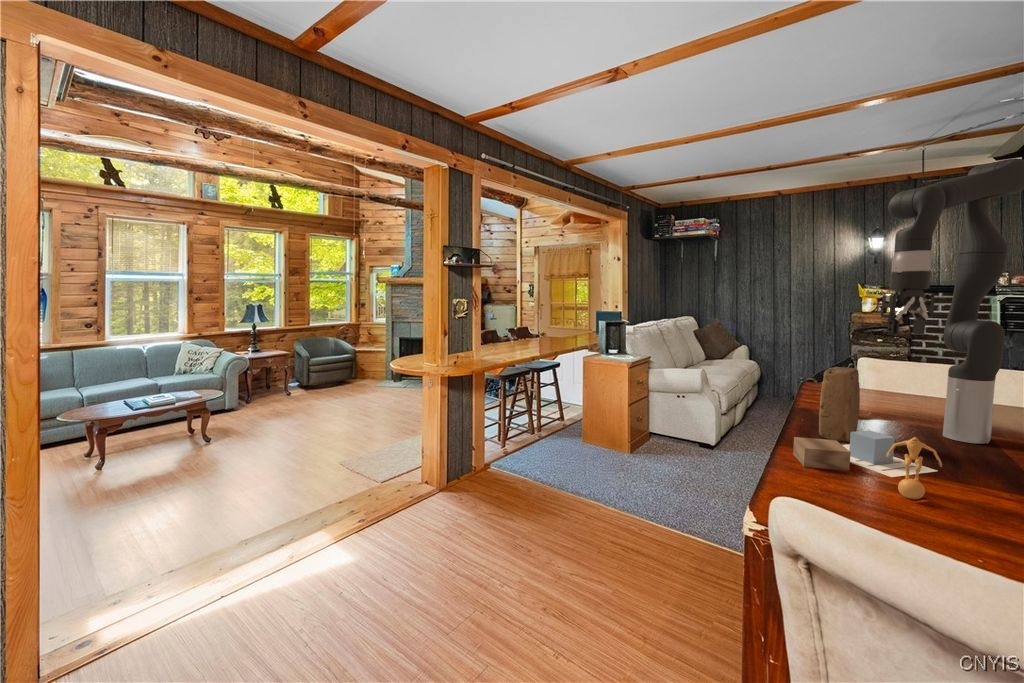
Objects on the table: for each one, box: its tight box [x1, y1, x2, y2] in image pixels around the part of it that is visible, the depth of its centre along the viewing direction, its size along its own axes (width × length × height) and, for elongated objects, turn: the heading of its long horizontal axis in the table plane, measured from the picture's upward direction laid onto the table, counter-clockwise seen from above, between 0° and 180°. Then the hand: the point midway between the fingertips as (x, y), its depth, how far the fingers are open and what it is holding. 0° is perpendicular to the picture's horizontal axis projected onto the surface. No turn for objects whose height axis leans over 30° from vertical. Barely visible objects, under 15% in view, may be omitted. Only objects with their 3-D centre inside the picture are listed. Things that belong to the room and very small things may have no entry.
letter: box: [841, 443, 938, 478], centre depth 111 cm, size 14×20×1 cm
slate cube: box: [849, 429, 896, 464], centre depth 111 cm, size 6×6×6 cm
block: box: [818, 366, 861, 442], centre depth 128 cm, size 11×8×20 cm
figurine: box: [886, 436, 943, 500], centre depth 90 cm, size 8×6×12 cm
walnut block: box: [792, 436, 851, 472], centre depth 109 cm, size 9×9×5 cm
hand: (905, 334), depth 115 cm, fingers open, 8 cm apart
